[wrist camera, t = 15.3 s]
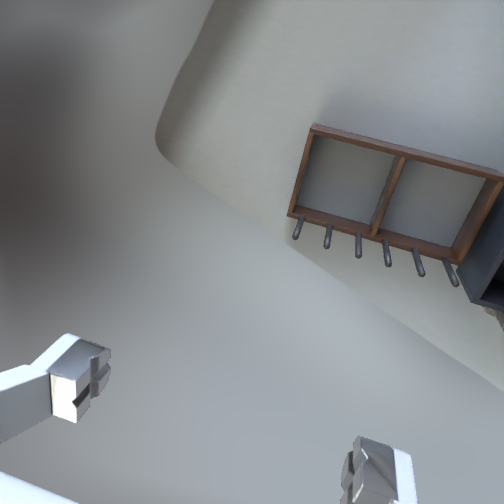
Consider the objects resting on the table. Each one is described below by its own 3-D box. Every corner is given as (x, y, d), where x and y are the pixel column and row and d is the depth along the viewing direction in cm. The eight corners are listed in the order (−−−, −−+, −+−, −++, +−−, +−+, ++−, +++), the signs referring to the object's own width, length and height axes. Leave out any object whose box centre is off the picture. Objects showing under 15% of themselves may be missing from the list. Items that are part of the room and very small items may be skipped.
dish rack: (313, 123, 39) (303, 136, 32) (496, 170, 37) (530, 195, 30) (290, 207, 44) (277, 235, 37) (453, 253, 42) (473, 293, 34)
